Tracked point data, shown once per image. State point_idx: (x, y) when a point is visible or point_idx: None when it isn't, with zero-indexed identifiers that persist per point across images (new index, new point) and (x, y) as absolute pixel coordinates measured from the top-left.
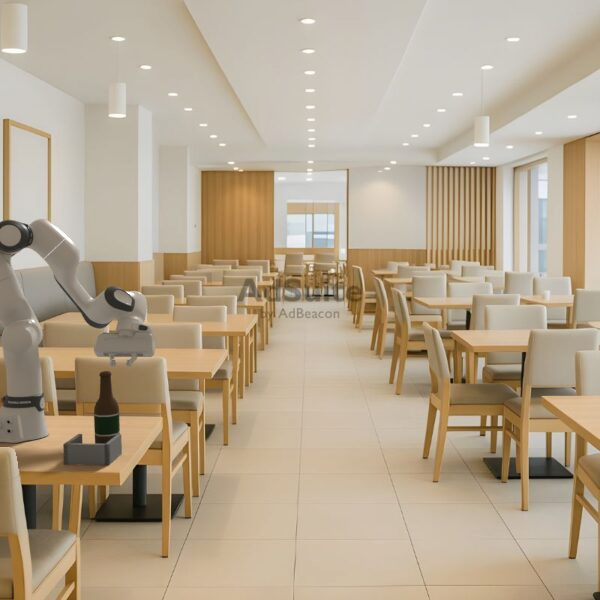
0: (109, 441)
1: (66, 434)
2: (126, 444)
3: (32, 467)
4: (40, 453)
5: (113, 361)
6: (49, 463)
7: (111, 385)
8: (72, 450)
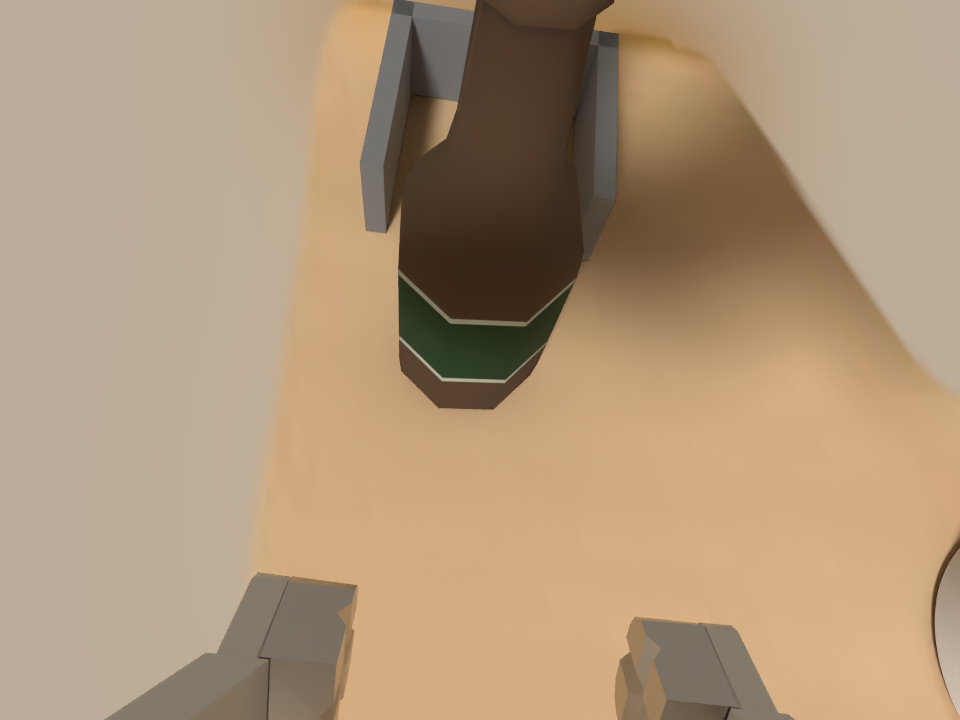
0: (400, 46)
1: (833, 701)
2: (367, 406)
3: (707, 91)
4: (776, 278)
5: (677, 663)
6: (661, 130)
7: (465, 91)
8: None
